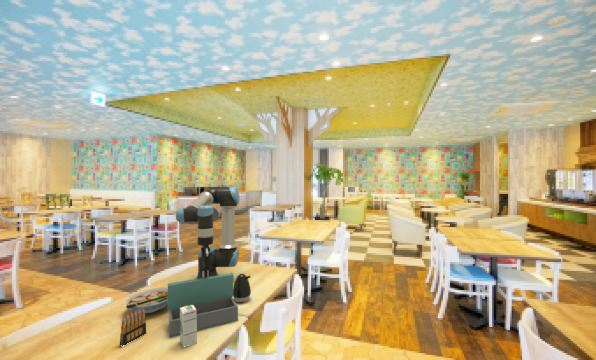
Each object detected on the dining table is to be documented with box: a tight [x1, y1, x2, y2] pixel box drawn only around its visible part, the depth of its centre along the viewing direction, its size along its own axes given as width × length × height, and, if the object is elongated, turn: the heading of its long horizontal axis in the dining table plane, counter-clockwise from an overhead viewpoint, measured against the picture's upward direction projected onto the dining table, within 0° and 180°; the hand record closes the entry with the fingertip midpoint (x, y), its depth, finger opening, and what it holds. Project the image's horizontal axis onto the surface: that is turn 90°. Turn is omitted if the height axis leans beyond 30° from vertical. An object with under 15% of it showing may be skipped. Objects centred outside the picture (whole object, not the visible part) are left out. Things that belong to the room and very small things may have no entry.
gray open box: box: [168, 297, 239, 338], centre depth 129 cm, size 12×30×7 cm, turn 118°
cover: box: [167, 272, 235, 311], centre depth 134 cm, size 13×31×2 cm
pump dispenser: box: [232, 273, 252, 303], centre depth 153 cm, size 10×10×15 cm
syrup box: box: [179, 305, 198, 348], centre depth 113 cm, size 6×6×14 cm
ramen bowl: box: [125, 287, 168, 314], centre depth 142 cm, size 25×23×8 cm
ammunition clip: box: [119, 308, 147, 346], centre depth 116 cm, size 11×2×12 cm, turn 157°
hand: (205, 282), depth 136 cm, fingers closed
